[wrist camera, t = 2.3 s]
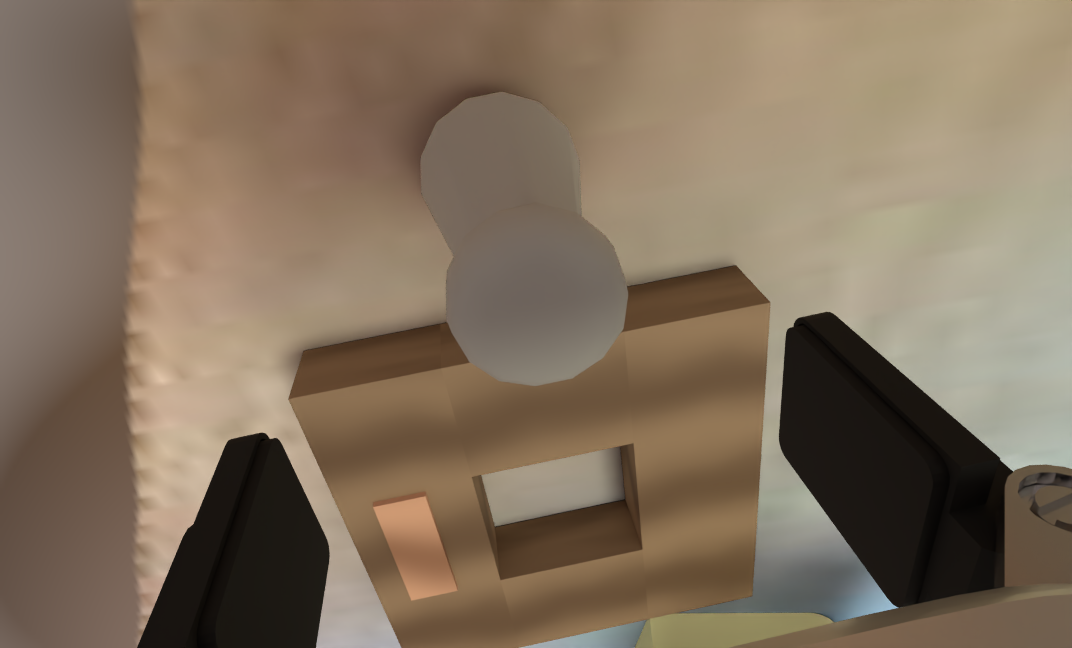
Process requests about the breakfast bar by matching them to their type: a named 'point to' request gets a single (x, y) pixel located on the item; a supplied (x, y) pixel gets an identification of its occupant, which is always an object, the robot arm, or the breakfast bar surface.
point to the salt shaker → (520, 243)
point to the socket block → (542, 435)
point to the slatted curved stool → (722, 628)
